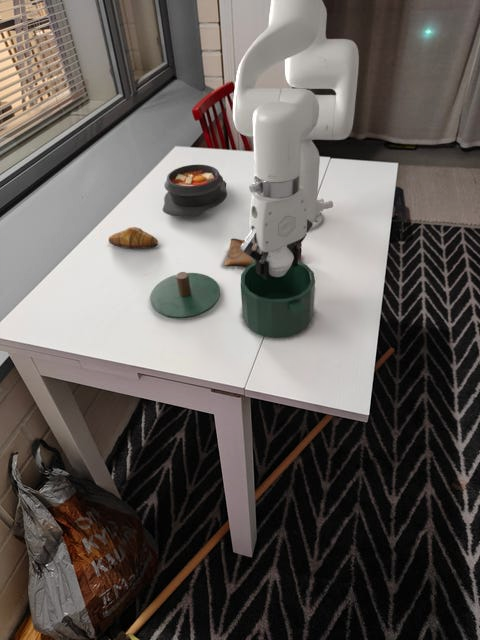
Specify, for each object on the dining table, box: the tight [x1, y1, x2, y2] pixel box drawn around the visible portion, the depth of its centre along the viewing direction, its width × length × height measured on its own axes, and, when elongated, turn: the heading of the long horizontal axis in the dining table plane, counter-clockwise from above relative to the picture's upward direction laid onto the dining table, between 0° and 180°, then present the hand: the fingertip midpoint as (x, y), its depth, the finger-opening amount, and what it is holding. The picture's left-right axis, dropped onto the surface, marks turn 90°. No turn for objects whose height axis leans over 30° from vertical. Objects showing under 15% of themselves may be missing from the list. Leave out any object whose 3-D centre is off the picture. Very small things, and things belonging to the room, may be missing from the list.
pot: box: [240, 258, 316, 339], centre depth 94 cm, size 15×20×10 cm
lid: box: [149, 271, 221, 320], centre depth 101 cm, size 16×16×6 cm
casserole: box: [162, 164, 228, 218], centre depth 134 cm, size 25×19×8 cm
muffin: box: [266, 245, 294, 277], centre depth 88 cm, size 6×6×7 cm
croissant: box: [108, 226, 159, 250], centre depth 119 cm, size 14×7×5 cm, turn 78°
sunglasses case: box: [223, 237, 303, 269], centre depth 111 cm, size 18×7×7 cm
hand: (277, 269), depth 90 cm, fingers closed on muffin, 6 cm apart
